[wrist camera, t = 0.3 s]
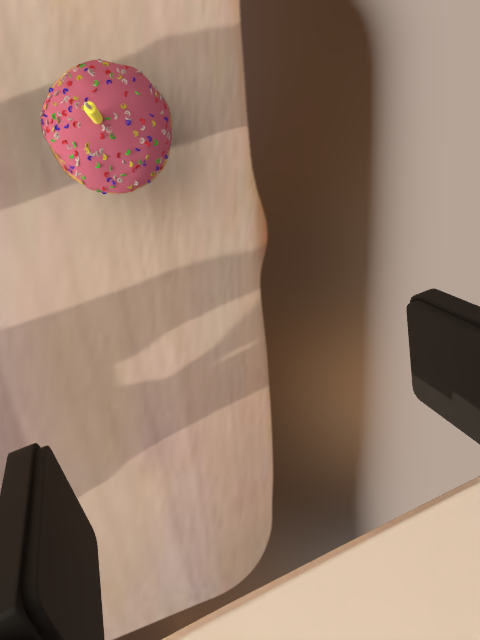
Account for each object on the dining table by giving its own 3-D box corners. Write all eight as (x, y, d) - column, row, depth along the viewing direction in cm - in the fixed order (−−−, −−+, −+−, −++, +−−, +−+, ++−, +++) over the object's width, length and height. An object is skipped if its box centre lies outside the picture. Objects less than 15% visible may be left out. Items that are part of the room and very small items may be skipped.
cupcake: (27, 152, 34) (9, 157, 24) (74, 42, 33) (78, -4, 22) (133, 207, 38) (158, 232, 28) (179, 111, 37) (224, 98, 26)
